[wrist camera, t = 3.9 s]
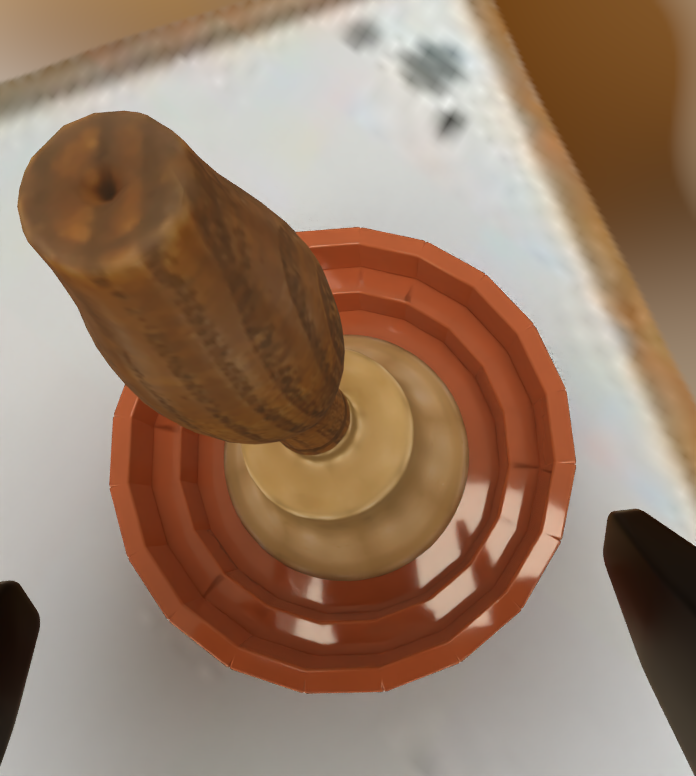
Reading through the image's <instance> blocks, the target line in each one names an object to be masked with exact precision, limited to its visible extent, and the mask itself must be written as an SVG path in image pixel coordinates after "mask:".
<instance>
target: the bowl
mask: <svg viewBox="0 0 696 776" xmlns="http://www.w3.org/2000/svg"><path fill="white" fill-rule="evenodd" d="M296 234H297V235H298V236H299V237H300V238H301V239H302V240H303V241H304V242H305V243H306V244H307V245H308V247H309V248H310V250H311V251H312V253H313V254H314V255H315V257H316V258H317V260H318V261H319V263H320V265H321V267H322V269H323V271H324V273H325V276H326V279H327V281H328V284H329V286H330V289H331V291H332V294H333V297H334V299H335V302H336V305H337V308H338V312H339V315H340V319H341V324H342V330H343V335H363V336H369V337H374V338H378V339H381V340H385V341H388V342H391V343H393V344H396V345H398V346H400V347H402V348H404V349H406V350H407V351H409V352H411V353H413V354H414V355H416V356H417V357H418V358H419V359H421V360H422V361H424V362H425V363H426V364H427V365H428V366H429V367H430V368H431V369H432V370H433V371H434V372H435V373H436V374H437V375H438V376H439V377H440V378H441V379H442V381H443V382H444V383H445V384H446V386H447V387H448V389H449V391H450V392H451V394H452V396H453V397H454V399H455V401H456V403H457V405H458V407H459V410H460V412H461V415H462V418H463V422H464V425H465V428H466V432H467V438H468V446H469V467H468V477H467V481H466V485H465V490H464V493H463V496H462V499H461V502H460V504H459V506H458V508H457V511H456V513H455V515H454V517H453V518H452V520H451V522H450V523H449V525H448V526H447V528H446V530H445V531H444V532H443V533H442V535H441V536H440V537H439V538H438V540H437V541H436V542H435V543H434V544H433V545H432V546H431V547H430V548H429V549H428V550H426V551H425V552H424V553H423V554H421V555H420V556H419V557H417V558H416V559H415V560H413V561H412V562H410V563H408V564H407V565H405V566H403V567H401V568H400V569H398V570H395V571H393V572H391V573H388V574H385V575H382V576H378V577H374V578H370V579H364V580H358V581H332V580H325V579H320V578H316V577H312V576H308V575H306V574H303V573H300V572H297V571H295V570H293V569H291V568H289V567H287V566H286V565H284V564H283V563H281V562H279V561H278V560H276V559H275V558H274V557H272V556H271V555H270V554H268V553H267V552H266V551H265V550H264V549H263V548H262V547H261V546H260V545H259V544H258V543H257V542H256V541H255V540H254V539H253V538H252V537H251V535H250V534H249V533H248V531H247V530H246V529H245V528H244V526H243V525H242V523H241V521H240V519H239V517H238V515H237V513H236V511H235V509H234V507H233V504H232V501H231V499H230V496H229V492H228V489H227V485H226V479H225V472H224V445H225V441H222V440H219V439H216V438H212V437H209V436H205V435H202V434H198V433H195V432H193V431H191V430H189V429H186V428H184V427H182V426H180V425H179V424H177V423H175V422H173V421H171V420H170V419H168V418H166V417H164V416H162V415H161V414H159V413H157V412H156V411H154V410H153V409H152V408H150V407H149V406H147V405H146V404H145V403H143V402H142V401H141V400H140V399H139V398H138V397H137V396H136V395H135V394H134V393H133V392H132V391H131V390H130V389H129V388H128V387H127V386H126V385H125V386H124V388H123V391H122V394H121V397H120V399H119V402H118V405H117V407H116V410H115V413H114V416H115V417H113V428H112V446H111V464H110V481H109V486H110V492H111V496H112V500H113V503H114V507H115V511H116V515H117V519H118V523H119V527H120V531H121V535H122V538H123V542H124V546H125V550H126V554H127V556H128V557H129V558H128V559H129V561H130V562H131V564H132V566H133V567H134V569H135V570H136V572H137V573H138V575H139V576H140V578H141V579H142V581H143V583H144V584H145V586H146V587H147V589H148V590H149V592H150V593H151V595H152V597H153V598H154V600H155V601H156V603H157V604H158V606H159V607H160V609H161V610H162V612H163V614H164V615H165V617H166V618H167V619H168V620H169V621H170V623H171V624H173V625H174V626H175V627H177V628H178V629H179V630H180V631H182V632H183V633H184V634H185V635H187V636H188V637H189V638H191V639H192V640H193V641H194V642H196V643H197V644H198V645H200V646H201V647H202V648H203V649H205V650H206V651H207V652H208V653H210V654H211V655H212V656H214V657H215V658H216V659H217V660H219V661H220V662H221V663H222V664H224V665H225V666H226V667H230V669H232V670H235V671H238V672H241V673H243V674H246V675H249V676H252V677H255V678H258V679H261V680H264V681H267V682H270V683H273V684H276V685H279V686H282V687H285V688H288V689H291V690H294V691H297V692H300V693H303V692H305V693H306V694H317V693H363V692H383V691H389V690H392V689H394V688H397V687H399V686H402V685H404V684H407V683H410V682H412V681H415V680H417V679H420V678H423V677H425V676H428V675H430V674H433V673H436V672H438V671H441V670H443V669H446V668H449V667H451V666H454V665H456V664H459V663H460V662H462V661H463V660H465V659H466V658H467V657H468V656H469V655H470V654H472V653H473V652H474V651H475V650H476V649H477V648H479V647H480V646H481V645H482V644H483V643H484V642H485V641H487V640H488V639H489V638H490V637H491V636H492V635H494V634H495V633H496V632H497V631H498V630H499V629H501V628H502V627H503V626H504V625H505V624H506V623H508V622H509V621H510V620H511V619H512V618H513V617H515V616H516V615H517V614H518V613H519V612H520V611H521V609H522V608H523V607H524V605H525V604H526V602H527V600H528V598H529V597H530V595H531V593H532V591H533V590H534V588H535V586H536V585H537V583H538V581H539V579H540V578H541V576H542V574H543V572H544V571H545V569H546V567H547V565H548V564H549V562H550V560H551V558H552V557H553V555H554V553H555V552H556V550H557V548H558V546H559V545H560V542H561V541H560V540H561V539H562V537H563V532H564V527H565V522H566V516H567V511H568V506H569V501H570V496H571V490H572V485H573V480H574V475H575V470H576V465H575V464H576V457H575V450H574V442H573V435H572V428H571V420H570V413H569V406H568V398H567V392H566V391H565V386H564V384H563V382H562V380H561V378H560V376H559V374H558V372H557V370H556V368H555V366H554V364H553V361H552V359H551V357H550V355H549V353H548V351H547V349H546V347H545V345H544V343H543V341H542V339H541V337H540V335H539V333H538V331H537V329H536V327H535V326H533V323H532V322H531V321H530V319H529V318H528V317H527V316H526V315H525V314H524V313H523V312H522V311H521V310H520V309H519V308H518V307H517V306H516V305H515V304H514V303H513V302H512V301H511V300H510V299H509V298H508V297H507V295H506V294H505V293H504V292H503V291H502V290H501V289H500V288H499V287H498V286H497V285H496V284H495V283H494V282H493V281H492V280H491V279H490V278H489V277H488V276H487V275H485V274H484V273H483V272H481V271H480V270H478V269H476V268H474V267H472V266H470V265H469V264H467V263H465V262H463V261H461V260H460V259H458V258H456V257H454V256H452V255H450V254H449V253H447V252H445V251H443V250H441V249H440V248H438V247H436V246H434V245H432V244H431V243H429V242H426V243H425V241H424V240H419V239H414V238H409V237H405V236H400V235H395V234H390V233H386V232H381V231H376V230H372V229H367V228H361V229H360V227H353V228H341V229H328V230H316V231H303V232H296Z"/></svg>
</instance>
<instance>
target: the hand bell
mask: <svg viewBox="0 0 696 776" xmlns="http://www.w3.org/2000/svg"><path fill="white" fill-rule="evenodd" d="M17 207H18V212H19V216H20V221H21V225H22V229H23V232H24V234H25V236H26V239H27V241H28V242H29V244H30V245H31V246H32V247H33V248H34V249H35V251H36V252H37V253H38V254H39V255H40V256H41V258H42V259H43V260H44V261H45V262H46V263H47V264H48V266H49V267H50V268H51V269H52V270H53V272H54V273H55V275H56V276H57V277H58V279H59V280H60V282H61V283H62V285H63V286H64V288H65V289H66V290H67V292H68V293H69V295H70V296H71V298H72V299H73V301H74V302H75V304H76V306H77V307H78V309H79V312H80V314H81V316H82V319H83V321H84V323H85V326H86V328H87V330H88V332H89V334H90V336H91V338H92V339H93V341H94V343H95V345H96V347H97V349H98V350H99V351H100V353H101V354H102V356H103V357H104V359H105V360H106V361H107V363H108V364H109V366H110V367H111V368H112V369H113V370H114V372H115V373H116V374H117V375H118V376H119V377H120V379H121V380H122V381H123V382H124V383H125V385H126V386H127V387H128V388H129V389H130V390H131V391H132V392H133V393H134V394H135V395H136V396H137V397H138V398H139V399H140V400H141V401H142V402H143V403H145V404H146V405H147V406H149V407H150V408H152V409H153V410H154V411H156V412H157V413H159V414H161V415H162V416H164V417H166V418H168V419H170V420H171V421H173V422H175V423H177V424H179V425H180V426H182V427H184V428H186V429H189V430H191V431H193V432H195V433H198V434H202V435H205V436H209V437H212V438H216V439H219V440H222V441H225V445H224V472H225V479H226V485H227V489H228V492H229V496H230V499H231V501H232V504H233V507H234V509H235V511H236V513H237V515H238V517H239V519H240V521H241V523H242V525H243V526H244V528H245V529H246V530H247V531H248V533H249V534H250V535H251V537H252V538H253V539H254V540H255V541H256V542H257V543H258V544H259V545H260V546H261V547H262V548H263V549H264V550H265V551H266V552H267V553H268V554H270V555H271V556H272V557H274V558H275V559H276V560H278V561H279V562H281V563H283V564H284V565H286V566H287V567H289V568H291V569H293V570H295V571H297V572H300V573H303V574H306V575H308V576H312V577H316V578H320V579H325V580H332V581H358V580H364V579H370V578H374V577H378V576H382V575H385V574H388V573H391V572H393V571H395V570H398V569H400V568H401V567H403V566H405V565H407V564H408V563H410V562H412V561H413V560H415V559H416V558H417V557H419V556H420V555H421V554H423V553H424V552H425V551H426V550H428V549H429V548H430V547H431V546H432V545H433V544H434V543H435V542H436V541H437V540H438V538H439V537H440V536H441V535H442V533H443V532H444V531H445V530H446V528H447V526H448V525H449V523H450V522H451V520H452V518H453V517H454V515H455V513H456V511H457V508H458V506H459V504H460V502H461V499H462V496H463V493H464V490H465V485H466V481H467V477H468V467H469V446H468V438H467V432H466V428H465V425H464V422H463V418H462V415H461V412H460V410H459V407H458V405H457V403H456V401H455V399H454V397H453V396H452V394H451V392H450V391H449V389H448V387H447V386H446V384H445V383H444V382H443V381H442V379H441V378H440V377H439V376H438V375H437V374H436V373H435V372H434V371H433V370H432V369H431V368H430V367H429V366H428V365H427V364H426V363H425V362H424V361H422V360H421V359H419V358H418V357H417V356H416V355H414V354H413V353H411V352H409V351H407V350H406V349H404V348H402V347H400V346H398V345H396V344H393V343H391V342H388V341H385V340H381V339H378V338H374V337H369V336H363V335H343V330H342V324H341V319H340V315H339V312H338V308H337V305H336V302H335V299H334V297H333V294H332V291H331V289H330V286H329V284H328V281H327V279H326V276H325V273H324V271H323V269H322V267H321V265H320V263H319V261H318V260H317V258H316V257H315V255H314V254H313V253H312V251H311V250H310V248H309V247H308V245H307V244H306V243H305V242H304V241H303V240H302V239H301V238H300V237H299V236H298V235H297V234H296V232H295V231H294V230H293V229H292V228H291V227H290V226H289V225H288V224H287V223H286V222H285V221H284V220H283V219H281V218H280V217H279V216H278V215H276V214H275V213H274V212H273V211H271V210H270V209H269V208H267V207H266V206H265V205H264V204H262V203H261V202H260V201H258V200H257V199H255V198H254V197H252V196H251V195H250V194H248V193H247V192H245V191H244V190H242V189H241V188H239V187H238V186H236V185H235V184H233V183H232V182H230V181H229V180H227V179H226V178H224V177H222V176H221V175H219V174H218V173H217V172H216V171H214V170H213V169H212V168H211V167H210V166H209V165H208V164H206V163H205V162H204V161H203V160H202V159H201V158H200V157H198V155H197V154H196V153H195V152H194V151H193V150H192V149H191V148H190V147H189V146H188V145H187V143H186V142H185V141H184V140H182V139H181V138H180V137H179V136H178V135H177V134H176V133H174V132H173V131H172V130H170V129H169V128H167V127H165V126H164V125H162V124H161V123H159V122H157V121H156V120H154V119H153V118H151V117H149V116H148V115H145V114H142V113H138V112H130V111H115V112H103V113H93V114H91V115H88V116H86V117H84V118H81V119H79V120H76V121H74V122H71V123H69V124H67V125H64V126H63V127H62V128H61V129H60V130H59V131H58V132H57V133H56V134H55V135H54V136H53V137H52V138H51V139H50V140H49V141H48V142H47V143H46V144H45V145H44V146H43V147H42V148H41V149H40V150H39V151H38V152H37V153H36V154H35V155H34V156H33V157H32V158H31V160H30V162H29V164H28V166H27V168H26V170H25V172H24V175H23V179H22V182H21V185H20V189H19V197H18V206H17Z"/></svg>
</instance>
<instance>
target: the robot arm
mask: <svg viewBox="0 0 696 776" xmlns="http://www.w3.org/2000/svg"><path fill="white" fill-rule="evenodd" d="M603 556H604V562H605V566H606V569H607V572H608V574H609V577H610V580H611V583H612V585H613V588H614V591H615V594H616V597H617V599H618V602H619V605H620V608H621V610H622V613H623V616H624V619H625V622H626V624H627V627H628V630H629V633H630V635H631V638H632V641H633V644H634V647H635V649H636V652H637V655H638V657H639V660H640V662H641V665H642V667H643V670H644V672H645V674H646V676H647V678H648V681H649V683H650V685H651V687H652V689H653V691H654V693H655V695H656V697H657V699H658V702H659V704H660V706H661V708H662V710H663V712H664V714H665V716H666V718H667V720H668V722H669V724H670V726H671V728H672V730H673V732H674V734H675V737H676V739H677V741H678V743H679V745H680V747H681V749H682V751H683V753H684V755H685V757H686V759H687V761H688V763H689V765H690V767H691V769H692V772H693V774H694V776H696V546H694V545H693V544H691V543H690V542H688V541H687V540H685V539H684V538H682V537H681V536H679V535H678V534H676V533H675V532H673V531H672V530H671V529H669V528H668V527H666V526H665V525H663V524H662V523H660V522H659V521H657V520H656V519H654V518H653V517H651V516H650V515H648V514H647V513H646V512H644V511H642V510H639V509H628V510H620V511H613V512H611V513H610V514H609V516H608V519H607V526H606V533H605V540H604V548H603ZM39 629H40V617H39V613H38V611H37V610H36V608H35V607H34V605H33V604H32V602H31V601H30V599H29V598H28V596H27V595H26V593H25V592H24V590H23V588H22V587H21V586H20V584H19V583H17V582H15V581H2V582H0V765H1V762H2V760H3V757H4V754H5V751H6V749H7V746H8V743H9V740H10V737H11V734H12V731H13V728H14V724H15V721H16V717H17V714H18V710H19V706H20V702H21V699H22V695H23V691H24V687H25V683H26V679H27V676H28V672H29V668H30V664H31V660H32V656H33V652H34V649H35V645H36V641H37V637H38V633H39Z"/></svg>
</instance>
